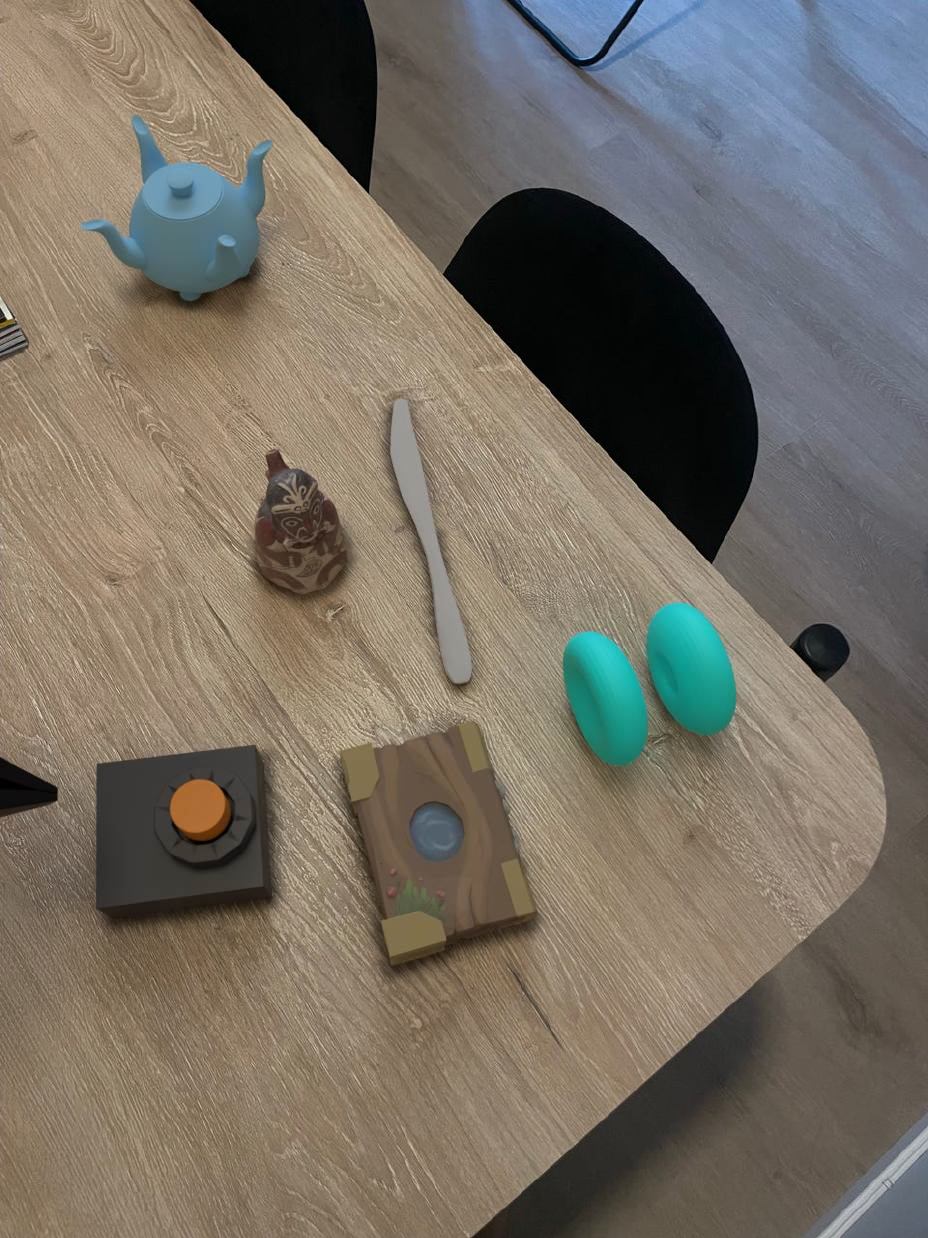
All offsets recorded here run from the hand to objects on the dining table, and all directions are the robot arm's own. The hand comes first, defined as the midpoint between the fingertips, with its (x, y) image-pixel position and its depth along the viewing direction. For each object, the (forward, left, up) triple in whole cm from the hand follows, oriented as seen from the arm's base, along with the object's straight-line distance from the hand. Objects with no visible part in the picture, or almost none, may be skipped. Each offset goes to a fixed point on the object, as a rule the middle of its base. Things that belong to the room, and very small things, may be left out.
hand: (54, 796), depth 65 cm
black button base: (+5, -2, -13) cm, 14 cm away
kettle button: (+7, -2, -8) cm, 11 cm away
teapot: (+24, +48, -13) cm, 56 cm away
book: (+21, -10, -13) cm, 27 cm away
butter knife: (+31, +14, -13) cm, 36 cm away
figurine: (+21, +16, -13) cm, 30 cm away
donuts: (+39, -7, -13) cm, 42 cm away
